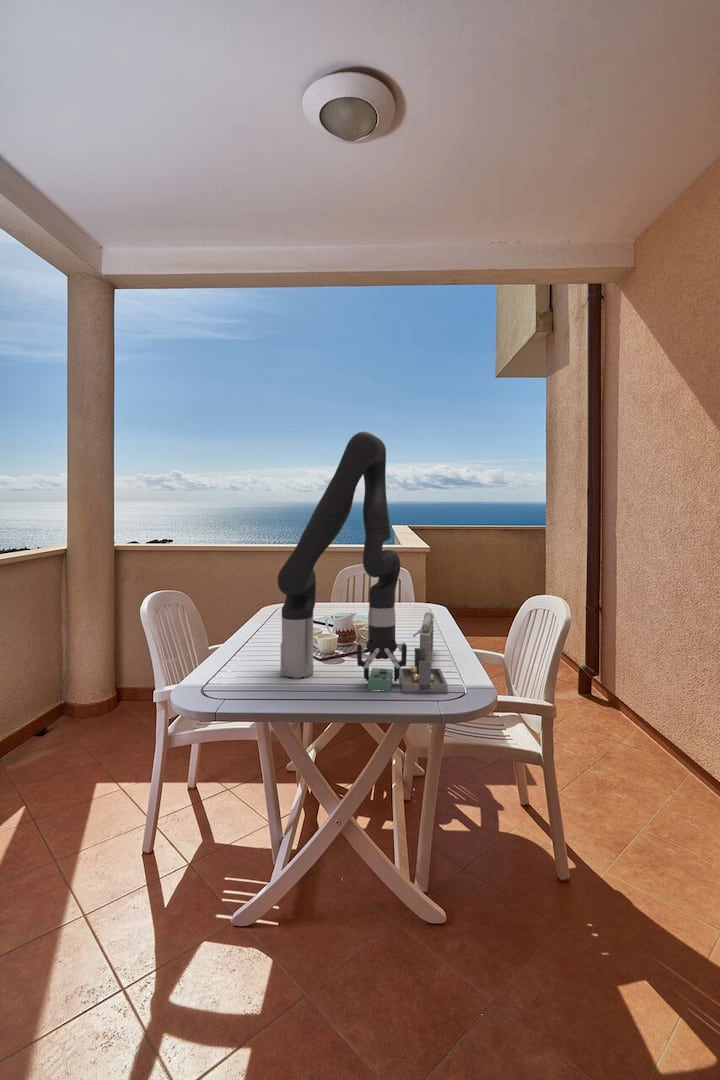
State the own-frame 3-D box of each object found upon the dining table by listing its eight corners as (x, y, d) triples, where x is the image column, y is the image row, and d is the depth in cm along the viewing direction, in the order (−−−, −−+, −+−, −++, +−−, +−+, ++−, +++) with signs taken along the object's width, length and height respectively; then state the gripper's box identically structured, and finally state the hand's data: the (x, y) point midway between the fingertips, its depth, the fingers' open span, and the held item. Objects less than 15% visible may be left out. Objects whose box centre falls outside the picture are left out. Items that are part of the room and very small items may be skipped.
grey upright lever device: (433, 625, 152) (437, 608, 177) (412, 623, 153) (419, 607, 178) (432, 670, 153) (436, 647, 178) (411, 668, 154) (418, 645, 179)
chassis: (402, 693, 134) (402, 662, 134) (399, 676, 147) (399, 648, 147) (447, 693, 134) (447, 662, 134) (439, 676, 147) (440, 648, 146)
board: (368, 691, 136) (368, 676, 136) (372, 679, 145) (372, 665, 145) (390, 693, 135) (390, 677, 135) (392, 680, 145) (392, 666, 144)
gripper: (355, 625, 135) (355, 685, 137) (408, 625, 135) (408, 685, 137) (356, 619, 143) (356, 675, 144) (406, 619, 143) (406, 675, 144)
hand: (381, 680), depth 140 cm, fingers open, 7 cm apart
